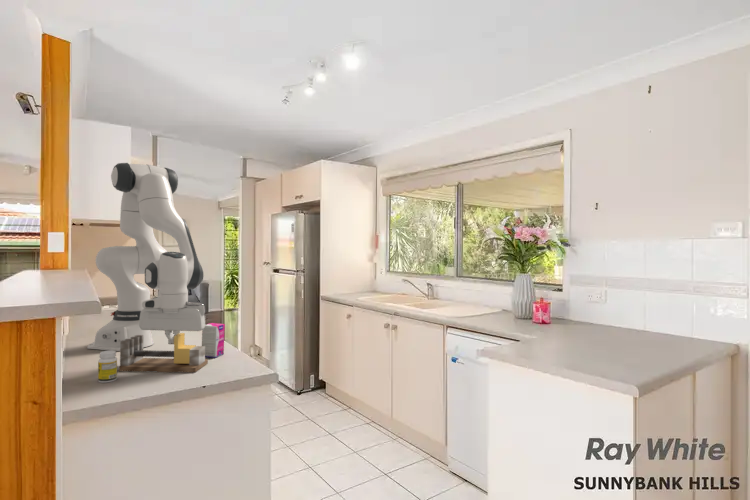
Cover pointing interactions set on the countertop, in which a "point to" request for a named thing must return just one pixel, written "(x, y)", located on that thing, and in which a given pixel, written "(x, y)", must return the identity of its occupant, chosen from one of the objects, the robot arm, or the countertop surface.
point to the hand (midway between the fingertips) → (172, 344)
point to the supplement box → (213, 339)
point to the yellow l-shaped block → (181, 349)
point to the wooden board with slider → (135, 362)
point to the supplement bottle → (107, 367)
